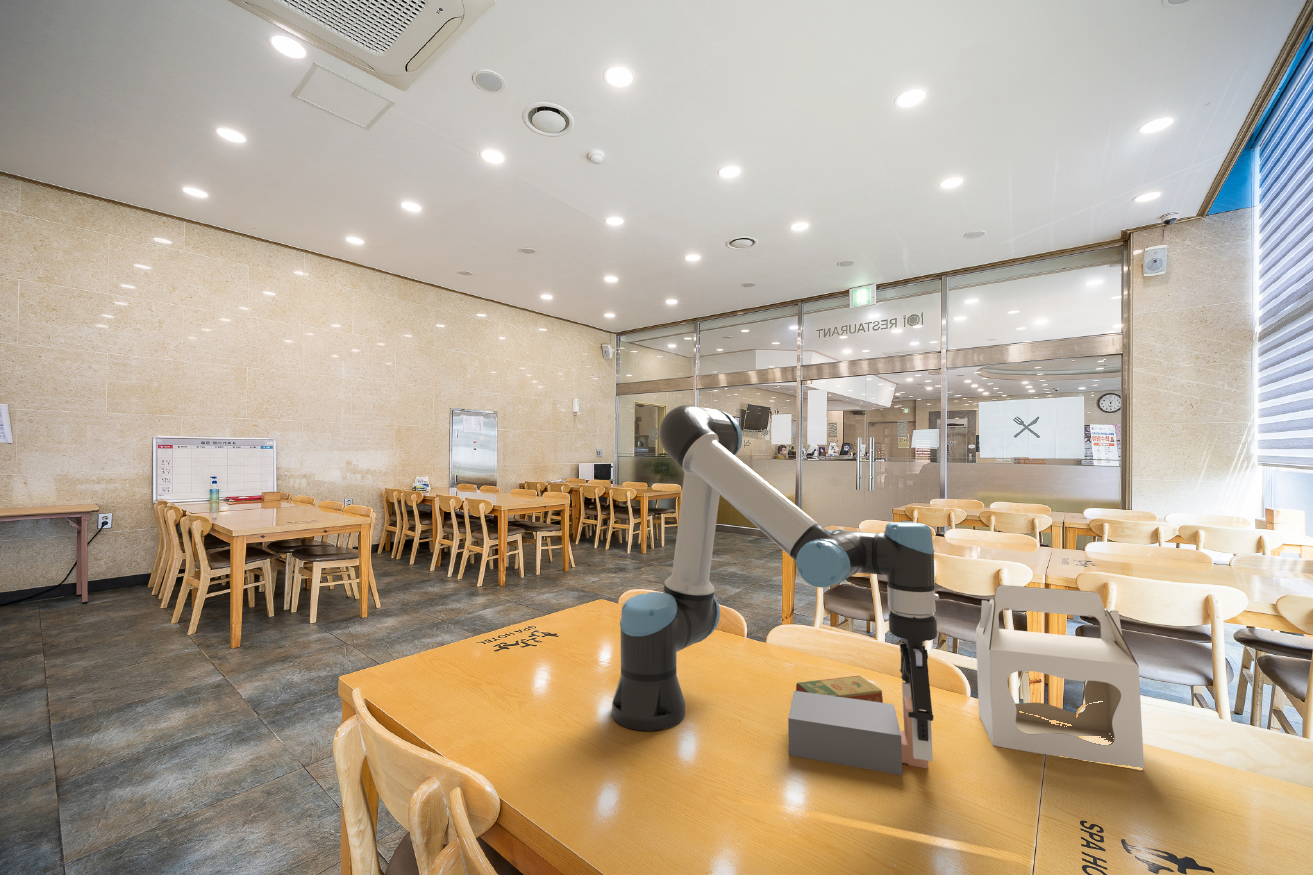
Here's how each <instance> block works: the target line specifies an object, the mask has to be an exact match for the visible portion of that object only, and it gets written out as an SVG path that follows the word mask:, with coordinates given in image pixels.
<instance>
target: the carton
mask: <svg viewBox="0 0 1313 875" xmlns="http://www.w3.org/2000/svg"><path fill="white" fill-rule="evenodd" d="M795 691H800V692H807V693H814V694H822V695H829V696H836V697H844V698H851V699H858V700H866V701H873V702H880V703H884V701H883V700H884V699H883V698H884V696H883V690H882V689H881V688H880V687H877V685H875V684H873V683H872V682H870V681H869V680H867V679H866V678H864V677H862V676H860V675H851V676H843V677H835V678H828V679H827V678H826V679H825V678H824V679H819V680H808V681H798V682H796V685H795Z"/></svg>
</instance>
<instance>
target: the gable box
mask: <svg viewBox="0 0 1313 875" xmlns="http://www.w3.org/2000/svg"><path fill="white" fill-rule="evenodd" d="M994 592H995V593H994V598H991V599H990V600H989V601H988V600H987V599H986V600H985V599H981V603H980V604H981V605H980V606H981V607H980V619H979V623H978V624H977V626H976V628H975V644H976V645H975V646H976V668H977V669H976V671H977V672H976V673H977V676H976V677H977V698H978V699H977V700H979V701H978V703H977V704H978V715H979V718H980V720H981V722H982V724H983V726H984V728H985V731H986V733H987V735H988V738H989V740H990V741H991V742H990V743H991V744H992V745H993V747H998V748H1004V749H1011V750H1015V751H1016V750H1017V751H1021V752H1028V753H1035V754H1038V753H1039V755H1044V754H1046V755H1045V756H1050V755H1054V756H1053V757H1056V756H1063V757H1068V758H1074V759H1075V758H1076V759H1079V760H1087V761H1093V762H1101V763H1110V764H1115V765H1126V766H1128V765H1129V766H1132V767H1140V768H1144V769H1145V759H1144V744H1143V742H1144V741H1143V740H1144V737H1143V727H1142V726H1143V723H1142V722H1143V721H1142V706H1141V686H1140V685H1141V684H1140V683H1141V682H1140V669H1139V668H1140V666H1139V664H1138V663H1137V661H1136V659H1135V657H1134V655H1133V653H1132V651H1131V650H1130V648H1129V646H1128V644H1127V642H1126V640H1125V639H1124V636H1123V632H1122V631H1123V630H1122V626H1121V620H1120V613H1119V611H1118V610H1110V611H1108V609H1106V608H1105V607H1104V605H1103V601H1102V597H1101V596H1100V594H1099V592H1095V591H1088V590H1078V589H1077V590H1075V589H1065V588H1064V589H1063V588H1062V589H1061V588H1049V587H1047V588H1046V587H1033V586H1020V585H1006V584H1000V585H997V586H996V587H995V589H994ZM1003 610H1004V611H1009V610H1011V611H1021V612H1022V611H1024V612H1033V613H1034V612H1035V613H1036V612H1037V613H1046V614H1057V615H1059V614H1060V615H1070V616H1071V615H1072V616H1081V617H1087V618H1095V619H1096V620H1097V621H1098V622H1099V633H1100V636H1099V638H1098V637H1086V636H1080V635H1079V636H1075V635H1065V634H1058V633H1047V632H1046V633H1045V632H1035V631H1026V630H1025V631H1024V630H1016V629H1014V630H1013V629H1008V628H1005V629H1004V628H1000V623H999V620H1000V618H999V614H1000V612H1001V611H1003ZM1016 672H1034V673H1041V674H1044V675H1049V676H1053V677H1056V678H1059V679H1065V680H1069V681H1086V683H1085V686H1084V690H1083V697H1084V703H1085V704H1084V705H1087V704H1088V705H1087V706H1085V707H1084V710H1083V711H1081V712H1072V711H1068V710H1065V709H1063V708H1061V707H1058V706H1054V705H1052V704H1047V703H1044V702H1023V703H1022V702H1021V703H1020V702H1019V703H1017V702H1016V703H1015V700H1014V697H1013V695H1012V692H1011V690H1010V688H1009V683H1008V681H1009V677H1010V676H1011V675H1012V674H1014V673H1016ZM1098 701H1103V702H1099V703H1093V702H1098ZM1089 703H1092V704H1089ZM1019 711H1022V712H1024V713H1020V712H1019ZM1026 713H1028V714H1026ZM1077 713H1079V714H1078V717H1077V718H1076V714H1077ZM1029 714H1033V715H1029ZM1034 715H1038V716H1040V717H1036V716H1034ZM1041 717H1044V718H1046V719H1049V720H1056V721H1059V722H1063V723H1067V724H1071V725H1072V726H1067V725H1065V724H1062V726H1060V724H1061V723H1056V724H1059V725H1055V724H1051V722H1049V720H1045V719H1042V718H1041ZM1064 726H1065V727H1064ZM1066 726H1067V727H1066ZM1079 736H1101V738H1106V739H1104V740H1108V742H1109V741H1110V742H1112V743H1111V744H1109V745H1101V744H1096V743H1092V742H1089V741H1086V740H1083V739H1081V738H1079ZM1111 736H1112V737H1111ZM1099 738H1100V737H1099ZM1113 738H1114V739H1113ZM1079 760H1078V761H1079Z"/></svg>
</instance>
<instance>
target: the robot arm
mask: <svg viewBox="0 0 1313 875" xmlns="http://www.w3.org/2000/svg"><path fill="white" fill-rule="evenodd" d="M659 426H660V427H659V433H658V435H659V441H660V444H661V447H662V448H663V450H664V451H665V453H666V454H667V455H668V457H669V458H670V459H672V460H673V461H674V462H675V463H676V464H677V465H678V466H679V467H680V468H681V469H682V471H683V472H684V475H683V482H682V490H681V491H682V492H681V498H680V508H679V515H678V523H677V524H678V525H677V531H676V533H677V534H676V540H675V547H674V555H673V556H674V557H673V565H672V572H671V575H670V576H669V577H668V578H666V579H665V580H664V585H663V591H662V592H659V591H658V592H655V591H654V592H653V591H652V592H648V593H641V594H637V595H633V596H632V597H629V598H628V599H627V600H626V601H625V602H624V603H623V605H622V606H621V613H620V620H619V627H620V676H619V680H618V683H617V686H616V689H615V693H614V695H613V699H612V704H611V714H612V718H613V720H614V721H615V722H616V723H617V724H618V725H620V726H622V727H624V728H628V729H630V730H634V731H646V732H647V731H648V732H651V731H661V730H666V729H669V728H672V727H674V726H675V727H676V725H678V724H680V723H681V722H682V721H683V720H684V718H685V717H686V701H685V697H684V695H683V692H682V689H681V685H680V682H679V681H680V680H679V678H678V676H677V675H678V674H677V673H678V672H677V671H678V670H677V653H678V652H679V651H681V650H684V649H687V648H688V647H690V646H692V645H694V644H697V643H700V642H703V640H706V639H707V638H708V637H709V636H711V634H712V633H714V631H715V630H716V629H717V627H718V625H719V622H720V617H721V609H720V603H719V602H718V601H717V597H716V595H715V591H716V590H715V586H714V585H713V584H712V583H711V581H710V575H711V568H712V559H713V552H714V542H715V535H716V527H717V520H718V511H719V504H720V497H722V498H723V499H724V500H725V501H726V502H728V503H729V504H730V505H732V506H733V507H734V508H735V509H736V510H737V511H738V512H739V513H740V514H742V515H743V516H744V517H745V518H746V519H748V521H750V522H751V523H752V524H753V525H754V526H755V527H756V528H758V530H759V531H761V532H762V533H763V534H764V535H765V536H766V537H767V538H769V539H770V540H771V541H772V542H774V544H776V545H777V546H778V547H779V548H780V549H781V550H782V551H784V553H786V554H787V555H788V556H789V557H791V558H792V560H794V561H795V565H796V569H797V572H798V573H799V575H800V577H801V578H802V579H803V580H804V581H805V582H806V583H807V584H809V585H810V586H812V587H815V588H822V589H823V588H828V587H833V586H836V585H837V586H838V585H839V584H840V583H842V582H844V581H846V579H848V578H850V577H852V576H855V575H856V574H858V573H859V574H871V575H879V576H886V579H887V586H886V587H887V608H888V609H889V610H890V611H889V612H888V629H889V632H890V634H892V635H893V636H895V637H896V638H899V639H901V640H900V641H901V642H899V651H900V669H899V672H900V674H901V680H902V682H901V689H902V690H901V691H902V693H901V694H902V698H903V697H911V699H912V708H913V712H908V717H911V718H912V738H913V757H914V758H916V759H922V760H928V762H933V760H934V759H933V758H934V757H933V737H932V722H933V721H934V719H935V718H934V714H933V709H932V698H931V697H932V696H931V688H930V685H931V684H930V677H929V666H928V658H929V654H928V653H929V652H928V649H926V646H925V644H923V642H925V641H926V642H927V641H928V642H929V641H933V640H935V639H936V638H937V637H938V629H937V628H938V627H937V625H938V624H937V617H936V615H934V614H935V613H936V612H937V611H936V609H937V608H936V602H935V601H938V600H939V599H940V596H939V594H938V593H936V592H935V590H936V584H935V579H936V578H935V549H934V542H933V533H932V529H931V527H929V525H927V524H924V523H920V522H905V521H903V522H899V521H898V522H897V521H895V522H888V523H886V525H885V530H884V532H869V531H867V532H866V531H853V530H843V529H833V530H832V529H829V530H828V529H825V527H823V526H822V525H820V524H819V523H818V522H817V521H816V520H814V519H813V518H812V517H811V516H809V515H808V514H807V513H806V512H805V511H803V509H801V508H800V507H799V506H797V505H796V504H795V503H794V502H792V501H791V500H790V499H788V497H786V496H785V495H784V494H783V493H781V491H779V490H778V489H776V488H775V487H774V486H772V484H770V483H769V482H768V481H766V480H765V479H764V478H763V477H761V476H760V475H759V474H758V473H756V472H755V471H754V470H753V469H751V468H750V467H749V466H748V465H747V464H745V463H744V462H743V461H742V460H740V459H739V458H738V457H737V456H736V455H737V454H738V453H739V451H740V450H741V447H742V444H743V443H742V442H743V434H742V429H741V426H740V425H739V422H738V421H737V419H735V418H734V416H732V414H729V413H727V412H725V411H722V410H721V409H715V408H708V407H701V406H696V405H690V404H686V405H685V404H683V405H679V406H676V407H675V408H673V409H671V410H670V411H668V412H667V413H666V415H665V416H664V417H663V419H662V421H661V423H660V425H659ZM921 710H926V711H921ZM902 713H903V714H902V716H903V719H904V701H903V700H902Z"/></svg>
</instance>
